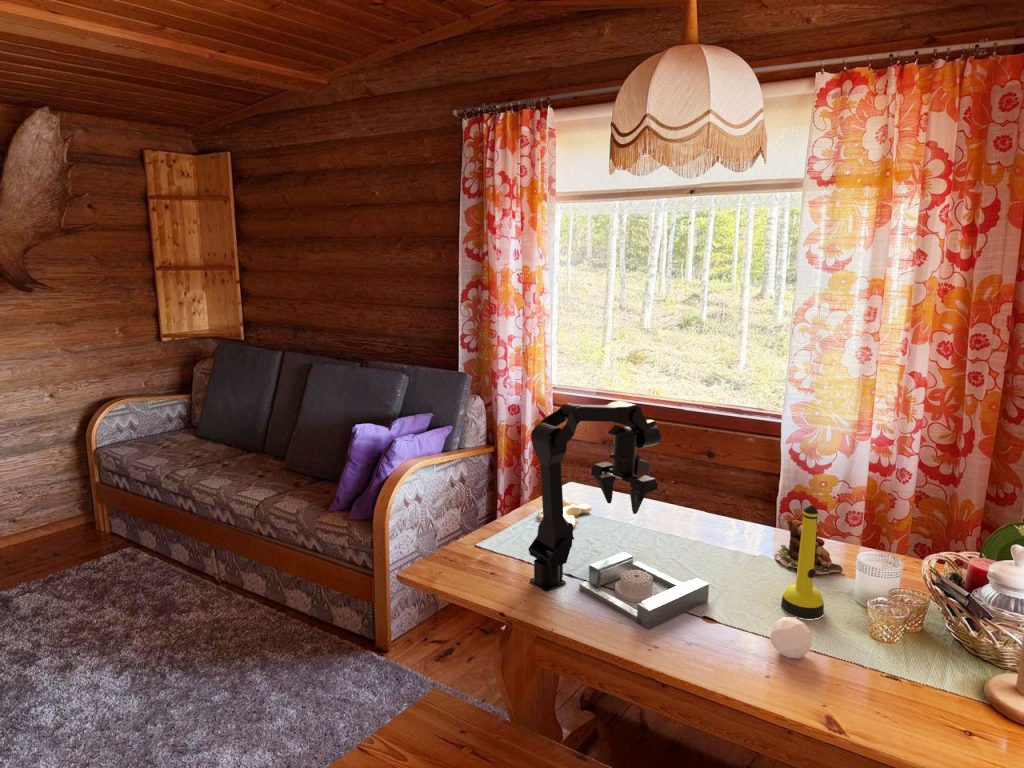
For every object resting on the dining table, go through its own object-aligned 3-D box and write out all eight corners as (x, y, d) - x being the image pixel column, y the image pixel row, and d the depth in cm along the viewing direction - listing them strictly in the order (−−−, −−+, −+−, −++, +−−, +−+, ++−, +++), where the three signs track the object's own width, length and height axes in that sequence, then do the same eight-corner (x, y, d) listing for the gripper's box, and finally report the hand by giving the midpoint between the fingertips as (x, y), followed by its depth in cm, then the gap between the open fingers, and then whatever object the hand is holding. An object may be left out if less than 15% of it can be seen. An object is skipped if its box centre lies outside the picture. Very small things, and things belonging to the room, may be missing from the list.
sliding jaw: (599, 588, 162) (599, 570, 161) (588, 582, 165) (589, 564, 164) (634, 574, 169) (634, 556, 168) (623, 568, 172) (624, 551, 171)
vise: (648, 629, 145) (649, 610, 144) (579, 589, 162) (579, 572, 161) (707, 601, 156) (709, 583, 155) (637, 566, 174) (638, 550, 173)
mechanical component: (659, 604, 155) (655, 584, 165) (660, 587, 154) (655, 567, 164) (616, 602, 156) (614, 582, 166) (616, 585, 155) (614, 565, 165)
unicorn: (570, 490, 217) (611, 509, 205) (569, 502, 218) (610, 521, 206) (525, 505, 204) (567, 526, 192) (524, 518, 205) (566, 539, 193)
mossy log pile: (810, 582, 166) (814, 536, 163) (765, 558, 179) (768, 514, 177) (850, 572, 171) (855, 526, 169) (803, 548, 184) (807, 506, 182)
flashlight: (780, 501, 150) (812, 515, 142) (810, 495, 154) (843, 509, 145) (772, 604, 155) (802, 624, 147) (801, 596, 158) (832, 615, 150)
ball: (777, 662, 138) (762, 622, 141) (817, 652, 136) (800, 611, 139) (780, 664, 131) (764, 622, 134) (822, 653, 129) (804, 611, 133)
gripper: (674, 454, 171) (670, 512, 174) (620, 438, 186) (618, 492, 189) (643, 461, 164) (640, 522, 167) (590, 444, 179) (588, 500, 182)
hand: (621, 508), depth 176 cm, fingers open, 9 cm apart
